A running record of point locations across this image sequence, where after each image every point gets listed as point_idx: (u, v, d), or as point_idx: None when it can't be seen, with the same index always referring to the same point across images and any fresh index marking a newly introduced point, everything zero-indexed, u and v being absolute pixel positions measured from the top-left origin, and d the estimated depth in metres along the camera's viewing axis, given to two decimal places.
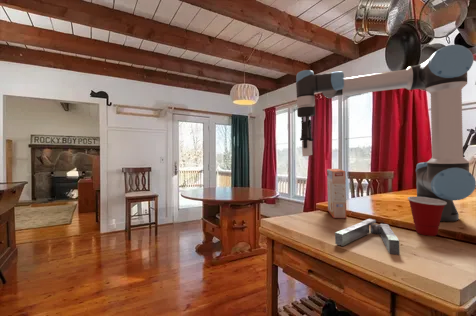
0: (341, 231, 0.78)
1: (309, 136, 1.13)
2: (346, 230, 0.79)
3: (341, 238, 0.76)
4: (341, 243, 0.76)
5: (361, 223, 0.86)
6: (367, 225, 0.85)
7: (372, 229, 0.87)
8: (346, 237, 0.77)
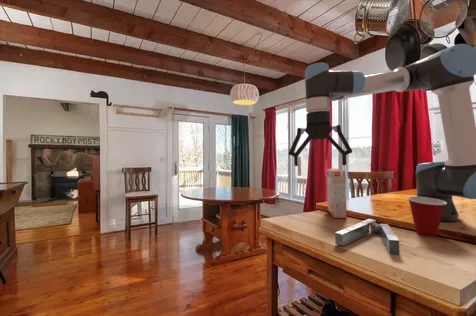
0: (341, 231, 0.78)
1: None
2: (346, 230, 0.79)
3: (341, 238, 0.76)
4: (341, 243, 0.76)
5: (361, 223, 0.86)
6: (367, 225, 0.85)
7: (372, 229, 0.87)
8: (346, 237, 0.77)
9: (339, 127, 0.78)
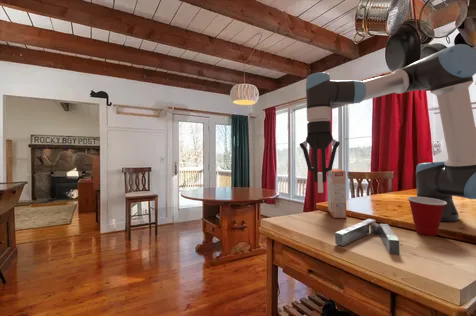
0: (341, 231, 0.78)
1: (322, 163, 0.81)
2: (346, 230, 0.79)
3: (341, 238, 0.76)
4: (341, 243, 0.76)
5: (361, 223, 0.86)
6: (367, 225, 0.85)
7: (372, 229, 0.87)
8: (346, 237, 0.77)
9: (338, 144, 0.78)
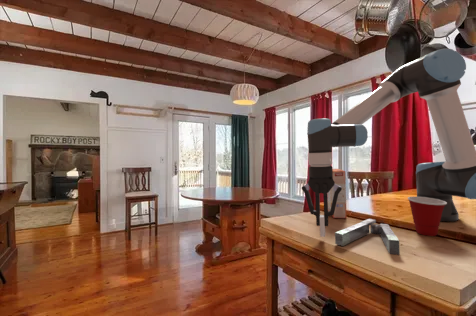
0: (341, 231, 0.78)
1: None
2: (346, 230, 0.79)
3: (341, 238, 0.76)
4: (341, 243, 0.76)
5: (361, 223, 0.86)
6: (367, 225, 0.85)
7: (372, 229, 0.87)
8: (346, 237, 0.77)
9: (339, 190, 0.78)
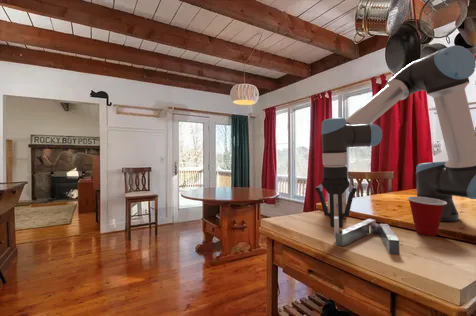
0: (342, 231, 0.78)
1: (338, 208, 0.80)
2: (346, 230, 0.79)
3: (341, 239, 0.76)
4: (341, 243, 0.76)
5: (361, 223, 0.86)
6: (367, 225, 0.85)
7: (372, 229, 0.87)
8: (347, 237, 0.77)
9: (355, 191, 0.77)
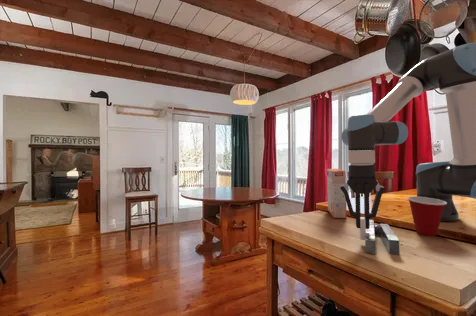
0: (369, 237, 0.72)
1: (364, 208, 0.76)
2: (370, 235, 0.74)
3: (374, 245, 0.70)
4: (373, 250, 0.70)
5: None
6: (373, 226, 0.83)
7: None
8: None
9: (383, 190, 0.74)
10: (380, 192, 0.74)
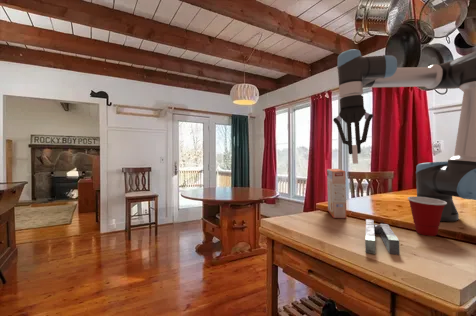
0: (369, 237, 0.72)
1: (355, 136, 0.86)
2: (370, 235, 0.74)
3: (374, 245, 0.70)
4: (373, 250, 0.70)
5: (368, 225, 0.83)
6: (373, 226, 0.83)
7: None
8: None
9: (371, 116, 0.83)
10: (368, 119, 0.83)
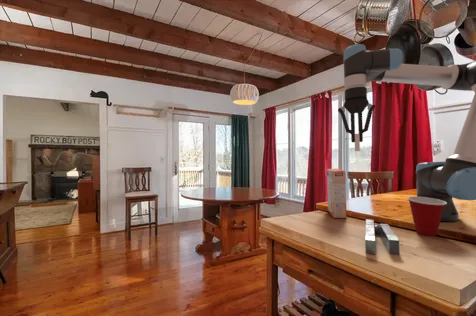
0: (369, 237, 0.72)
1: (358, 125, 0.91)
2: (370, 235, 0.74)
3: (374, 245, 0.70)
4: (373, 250, 0.70)
5: (368, 225, 0.83)
6: (373, 226, 0.83)
7: None
8: None
9: (373, 107, 0.89)
10: (371, 109, 0.89)
